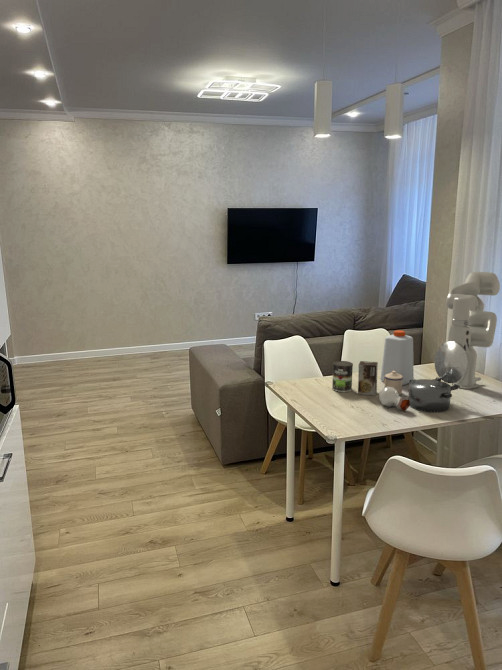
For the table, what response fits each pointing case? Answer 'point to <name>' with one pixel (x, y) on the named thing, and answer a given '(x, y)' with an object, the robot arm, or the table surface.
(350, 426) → the table surface
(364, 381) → the coffee box
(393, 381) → the teacup with lid
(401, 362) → the plastic bottle
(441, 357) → the lid
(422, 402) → the pot
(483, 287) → the robot arm
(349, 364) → the coffee can
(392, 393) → the potion bottle
